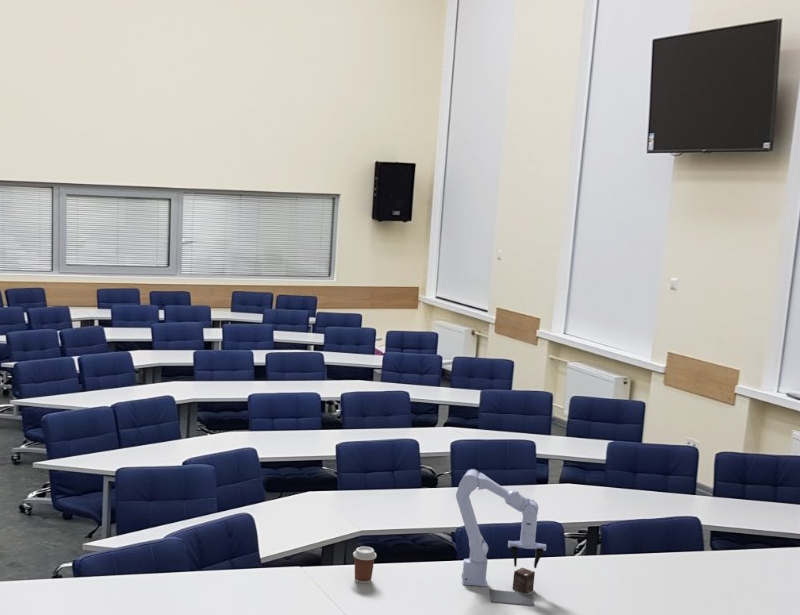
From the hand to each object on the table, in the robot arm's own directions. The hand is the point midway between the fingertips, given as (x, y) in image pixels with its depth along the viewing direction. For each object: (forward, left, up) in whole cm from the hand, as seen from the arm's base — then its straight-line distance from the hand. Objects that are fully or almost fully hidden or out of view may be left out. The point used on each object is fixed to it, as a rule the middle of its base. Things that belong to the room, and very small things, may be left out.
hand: (525, 566), depth 373 cm
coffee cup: (-62, -5, -10) cm, 63 cm away
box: (0, 0, -10) cm, 10 cm away
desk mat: (-5, -9, -9) cm, 14 cm away
